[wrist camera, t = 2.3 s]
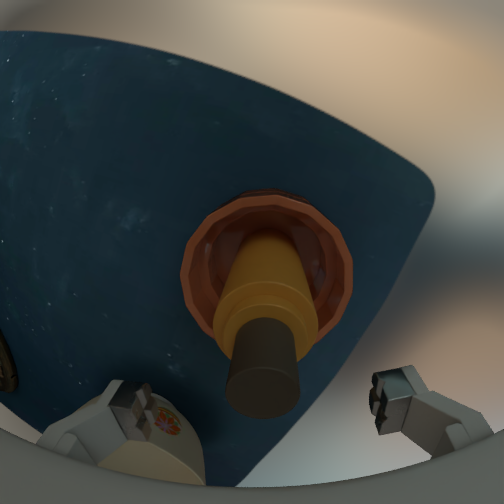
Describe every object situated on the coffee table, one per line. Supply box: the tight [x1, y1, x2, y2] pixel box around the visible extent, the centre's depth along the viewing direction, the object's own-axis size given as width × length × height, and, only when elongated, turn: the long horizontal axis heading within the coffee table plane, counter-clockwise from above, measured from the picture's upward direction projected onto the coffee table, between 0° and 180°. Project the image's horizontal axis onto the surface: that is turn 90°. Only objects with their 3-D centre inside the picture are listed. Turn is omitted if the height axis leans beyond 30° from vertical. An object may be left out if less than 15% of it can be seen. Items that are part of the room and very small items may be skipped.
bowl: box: [73, 393, 206, 485], centre depth 26 cm, size 16×16×10 cm
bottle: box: [213, 229, 318, 419], centre depth 17 cm, size 5×5×16 cm
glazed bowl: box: [180, 188, 353, 344], centre depth 22 cm, size 11×11×6 cm
